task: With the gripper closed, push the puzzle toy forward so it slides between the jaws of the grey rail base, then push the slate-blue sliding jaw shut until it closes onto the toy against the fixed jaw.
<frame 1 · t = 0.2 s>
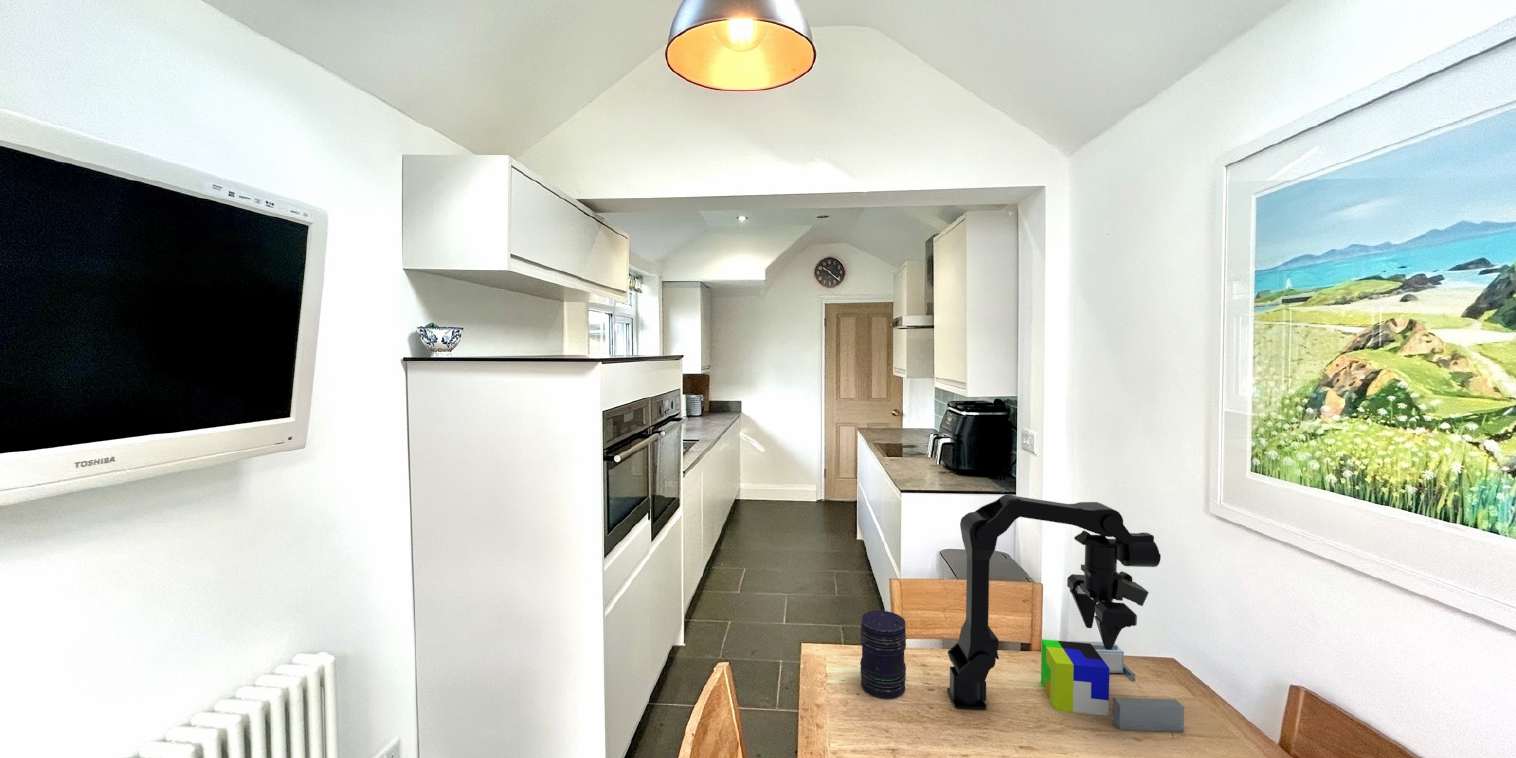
hand: (1098, 638, 117), 14 cm above the table, fingers open, 9 cm apart
sliding jaw: (1093, 656, 130), point 3 cm above the table, slide at 0.0 cm
puzzle toy: (1073, 699, 120), on the table
grey rail base: (1121, 699, 119), on the table
storage jar: (882, 687, 124), on the table
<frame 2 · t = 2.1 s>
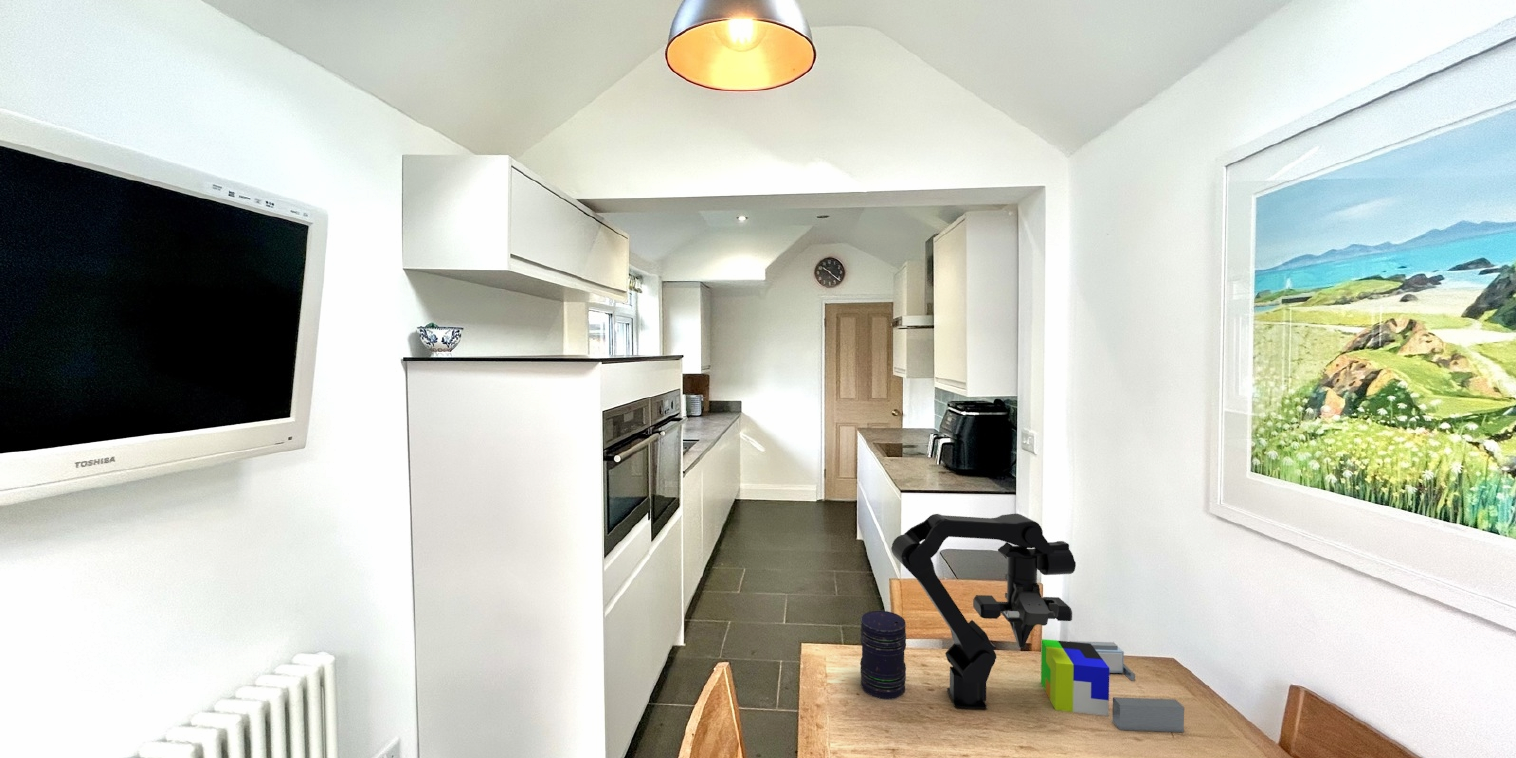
hand: (1020, 646, 120), 11 cm above the table, fingers closed
nothing on the table moved.
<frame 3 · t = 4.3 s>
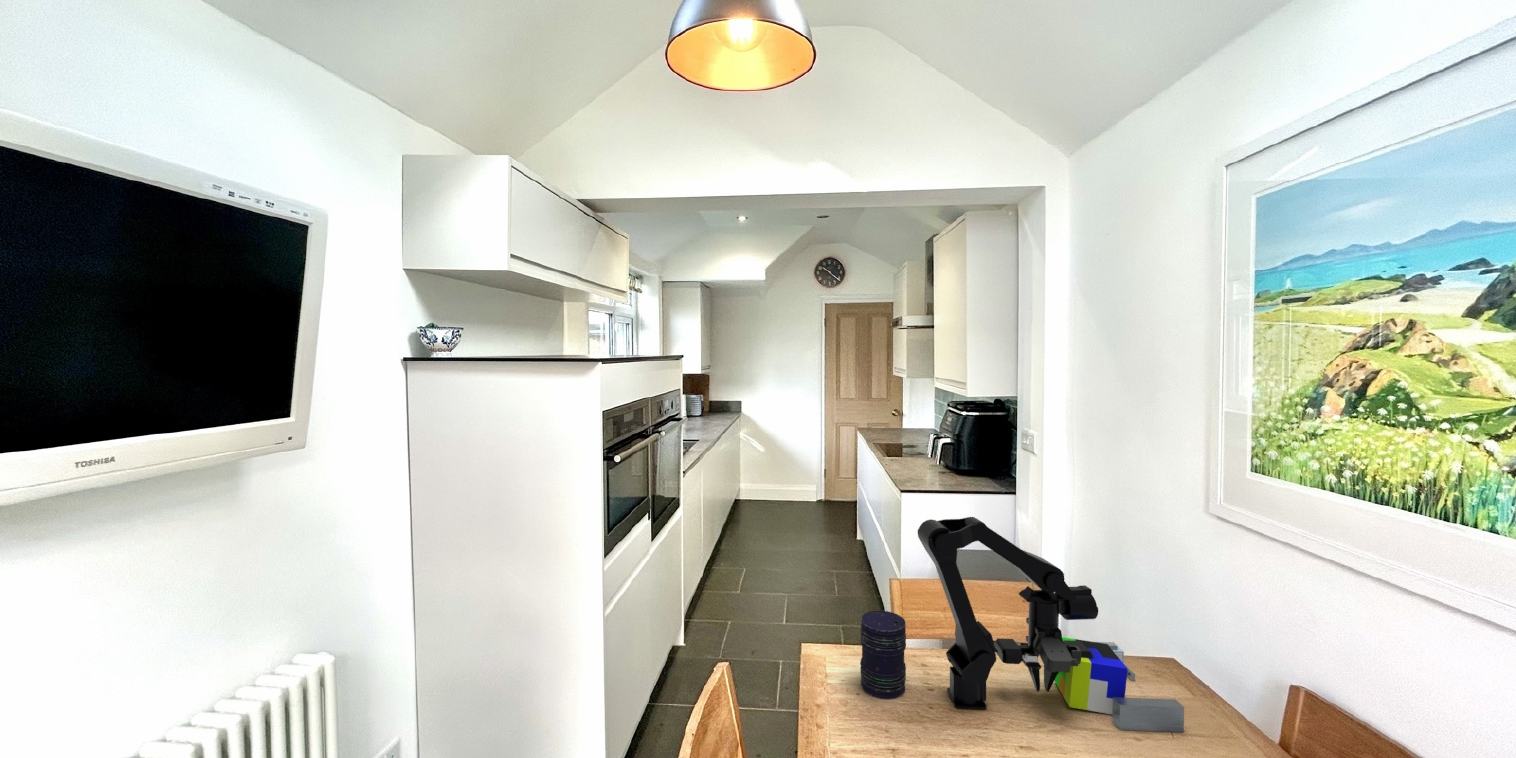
hand: (1042, 690, 120), 1 cm above the table, fingers closed on puzzle toy
puzzle toy: (1086, 698, 119), on the table, touching gripper
everything else where it was.
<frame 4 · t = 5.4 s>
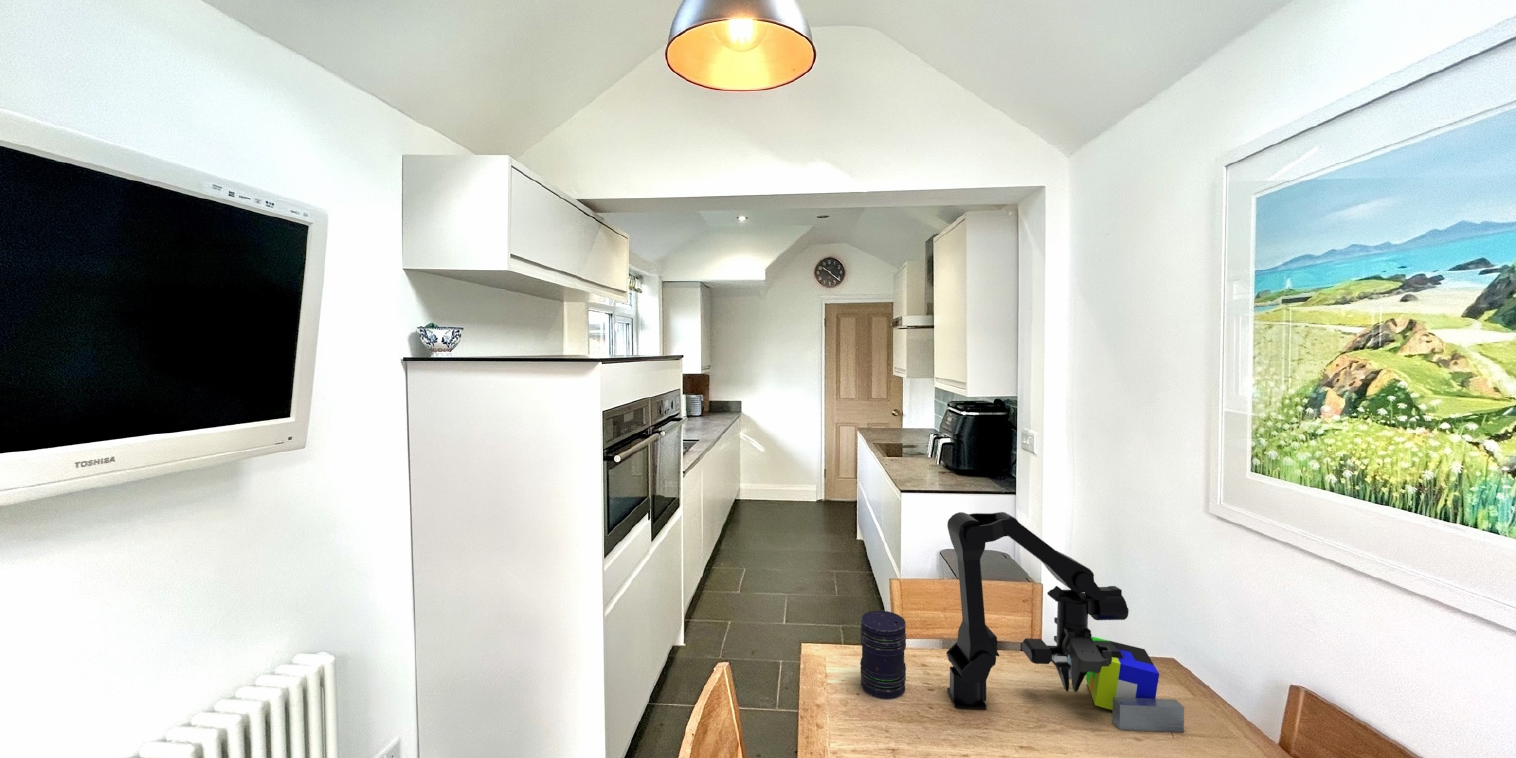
hand: (1070, 690, 120), 2 cm above the table, fingers closed on puzzle toy
puzzle toy: (1116, 699, 118), on the table, touching gripper
everything else where it was.
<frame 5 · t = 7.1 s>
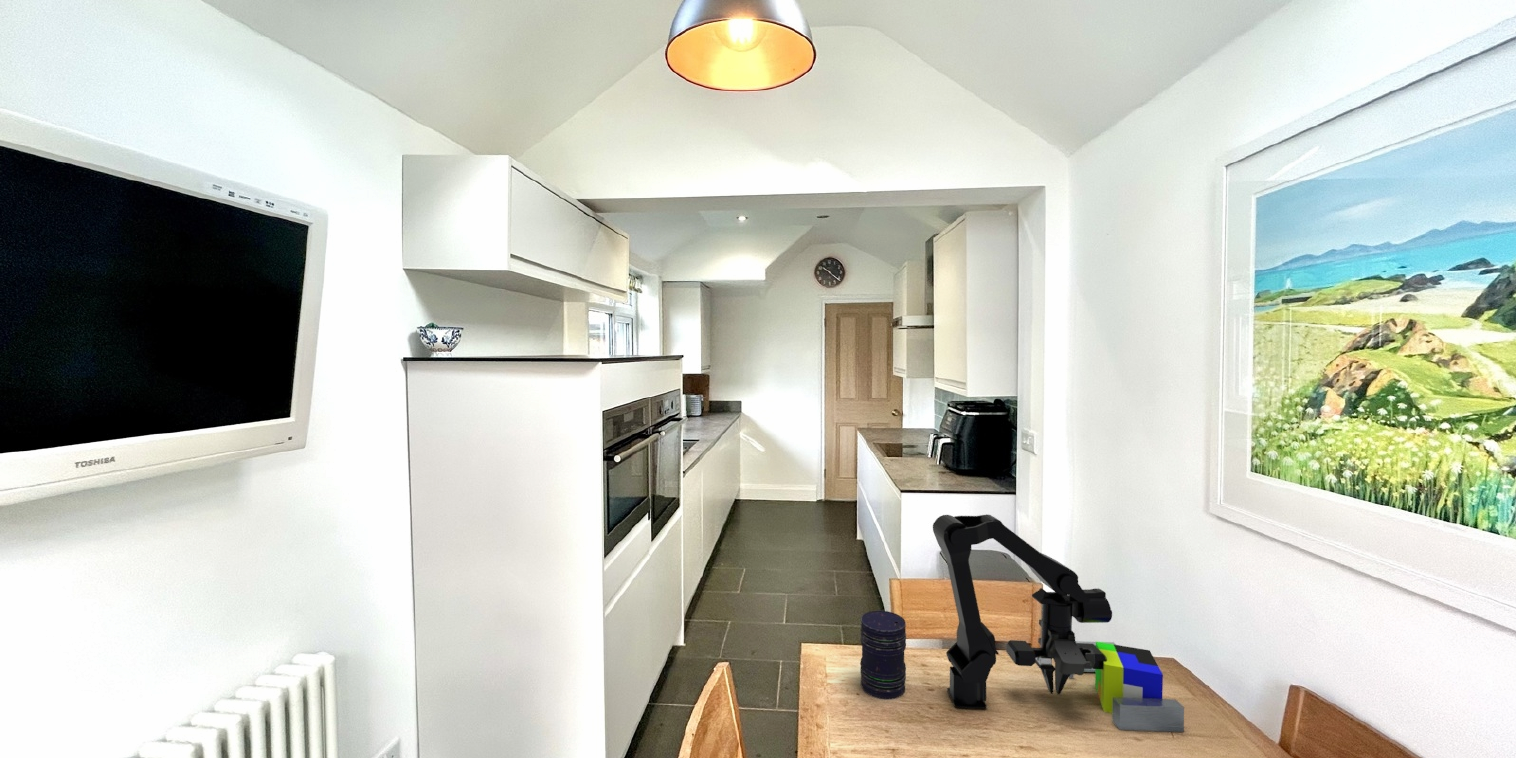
hand: (1054, 693, 120), 1 cm above the table, fingers closed
puzzle toy: (1126, 704, 118), on the table
everything else where it was.
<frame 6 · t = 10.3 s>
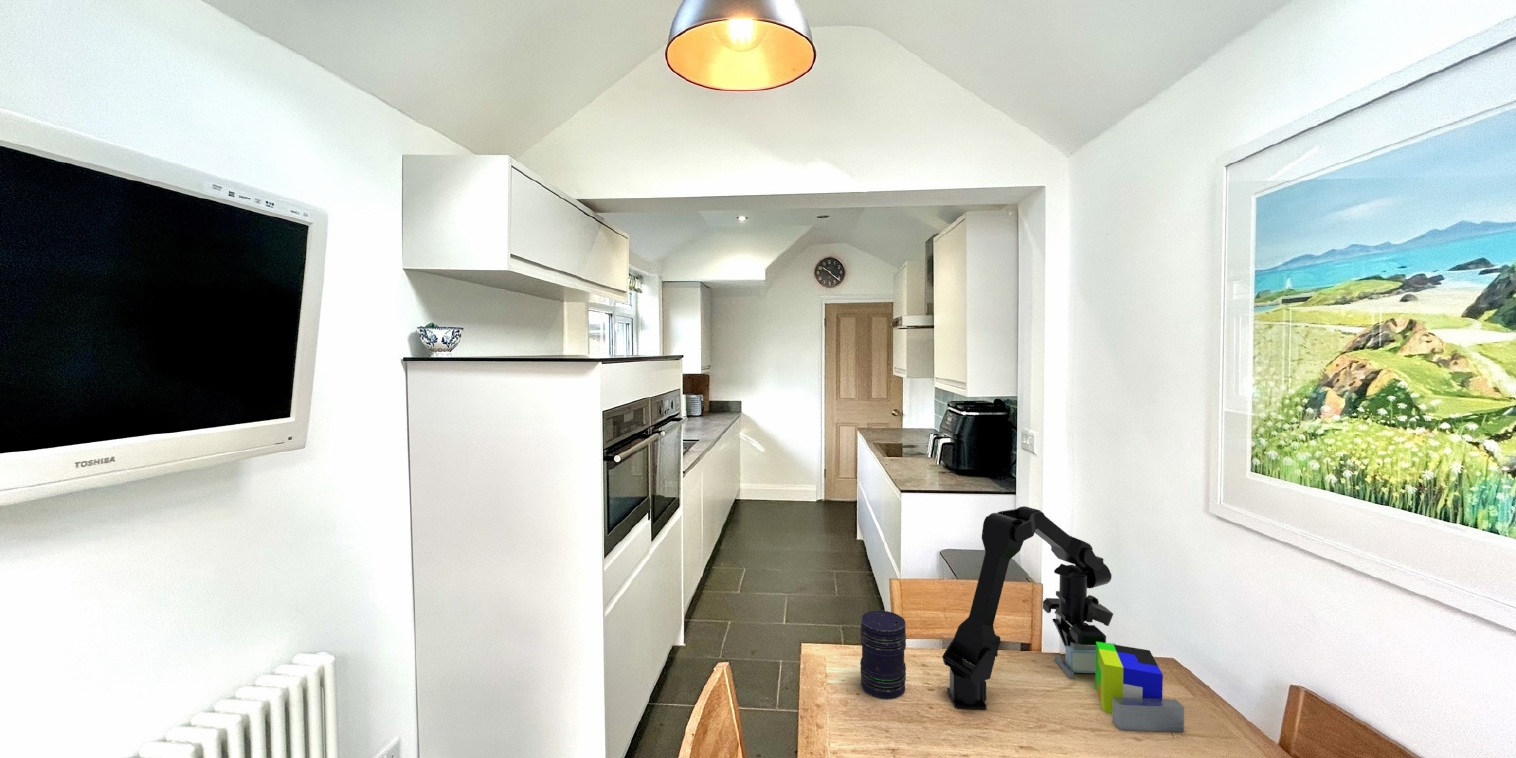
hand: (1071, 655, 134), 1 cm above the table, fingers closed
sliding jaw: (1094, 657, 129), point 3 cm above the table, slide at 0.5 cm, touching gripper
everything else where it was.
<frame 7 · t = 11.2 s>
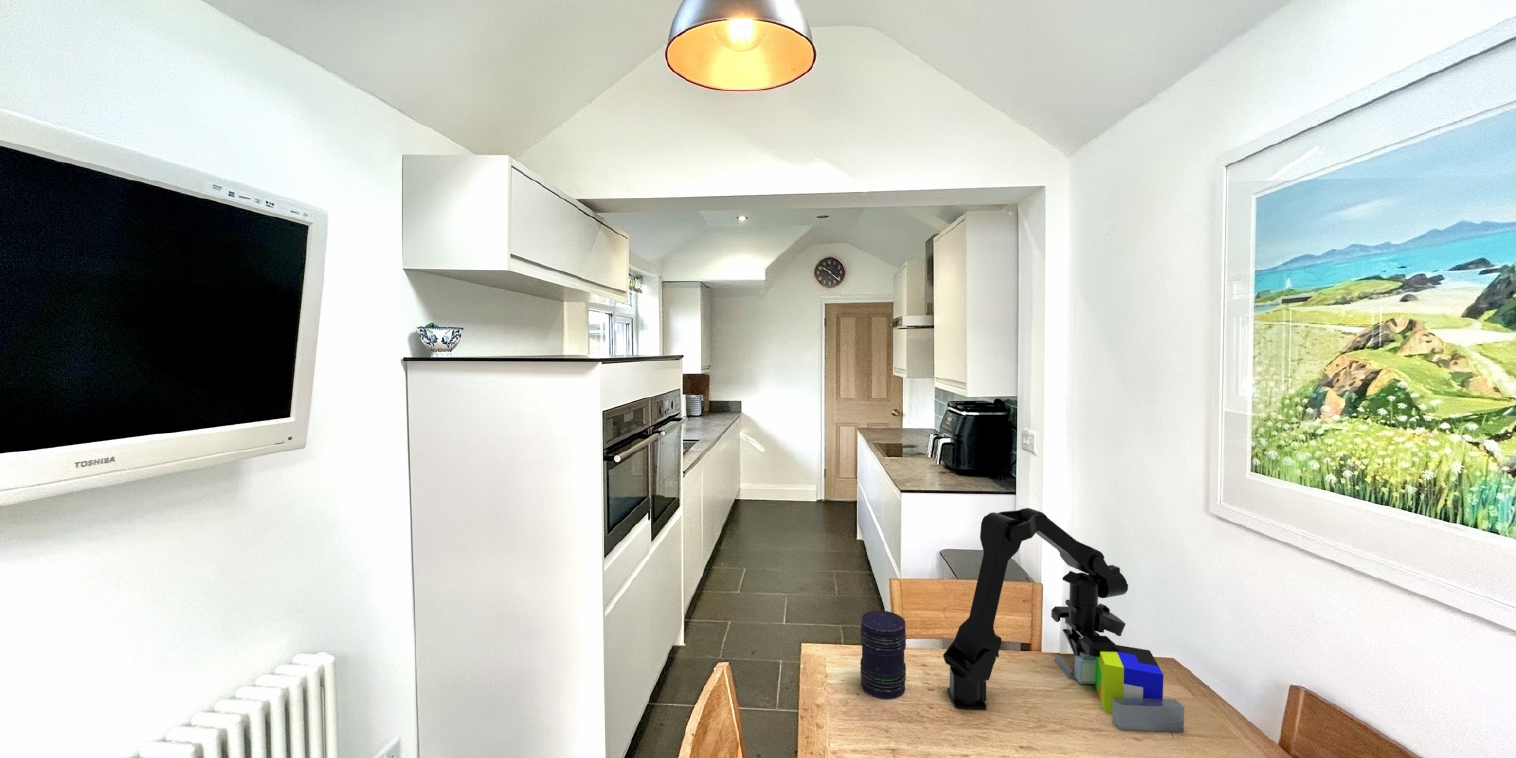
hand: (1081, 666, 129), 1 cm above the table, fingers closed
sliding jaw: (1105, 668, 125), point 3 cm above the table, slide at 4.8 cm, touching gripper, puzzle toy
puzzle toy: (1126, 704, 118), on the table, touching sliding jaw, grey rail base
everything else where it was.
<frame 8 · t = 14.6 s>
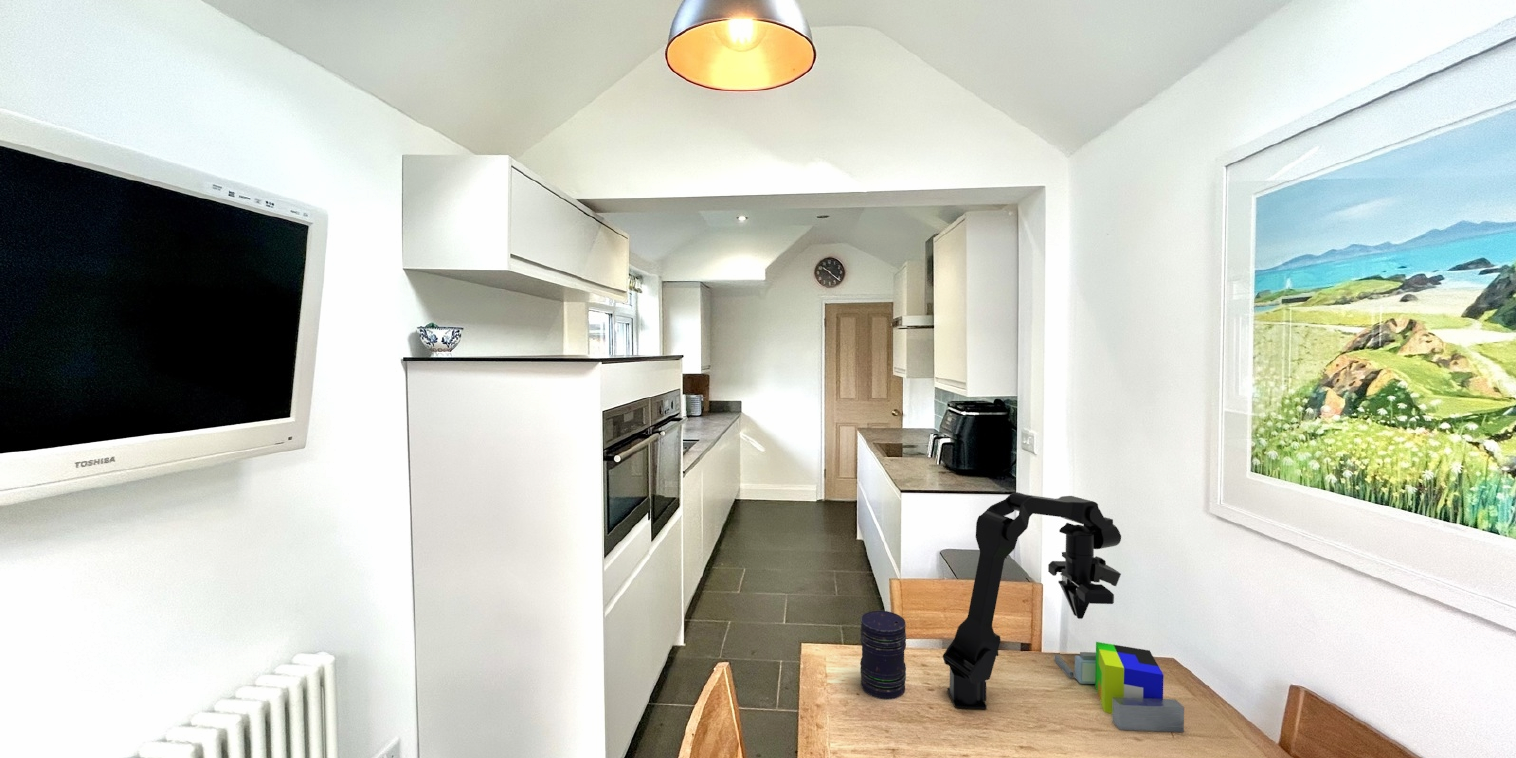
hand: (1078, 616, 131), 12 cm above the table, fingers closed
sliding jaw: (1105, 668, 125), point 3 cm above the table, slide at 4.9 cm
puzzle toy: (1126, 704, 118), on the table
everything else where it was.
at the end: puzzle toy inside the target area (1.1 cm from its centre), on the table; sliding jaw slide at 4.9 cm; puzzle toy tilted 0° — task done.
